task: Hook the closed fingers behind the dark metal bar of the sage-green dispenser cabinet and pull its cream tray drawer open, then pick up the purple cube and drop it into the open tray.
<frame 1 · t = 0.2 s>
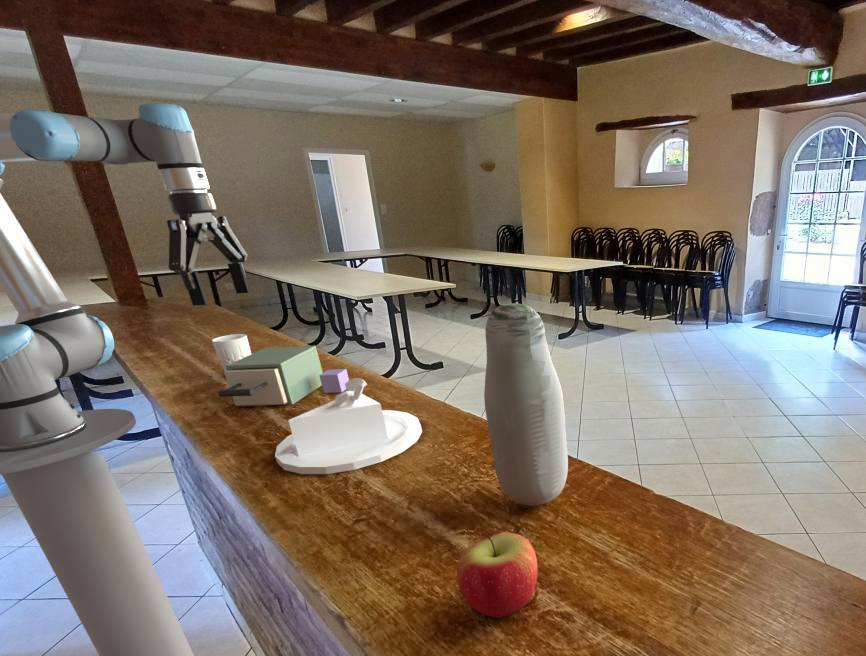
hand: (223, 298, 119), 23 cm above the bar counter, tool pointing down, fingers open, 13 cm apart
grey rounded column: (535, 499, 80), on the bar counter
cabinet: (284, 394, 130), on the bar counter
apple: (503, 606, 60), on the bar counter
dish: (352, 443, 102), on the bar counter
white cup: (241, 374, 148), on the bar counter
drawer: (264, 382, 124), point 5 cm above the bar counter, slide at 0.5 cm
purple cube: (337, 389, 131), on the bar counter
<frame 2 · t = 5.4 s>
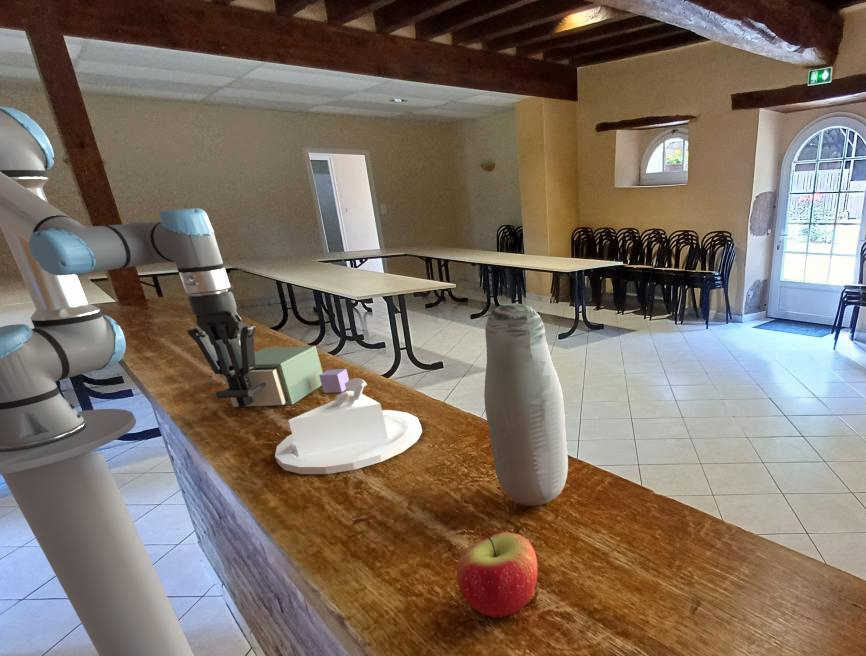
hand: (246, 404, 117), 3 cm above the bar counter, tool pointing down, fingers closed
drawer: (262, 383, 123), point 5 cm above the bar counter, slide at 1.2 cm
everything else where it was.
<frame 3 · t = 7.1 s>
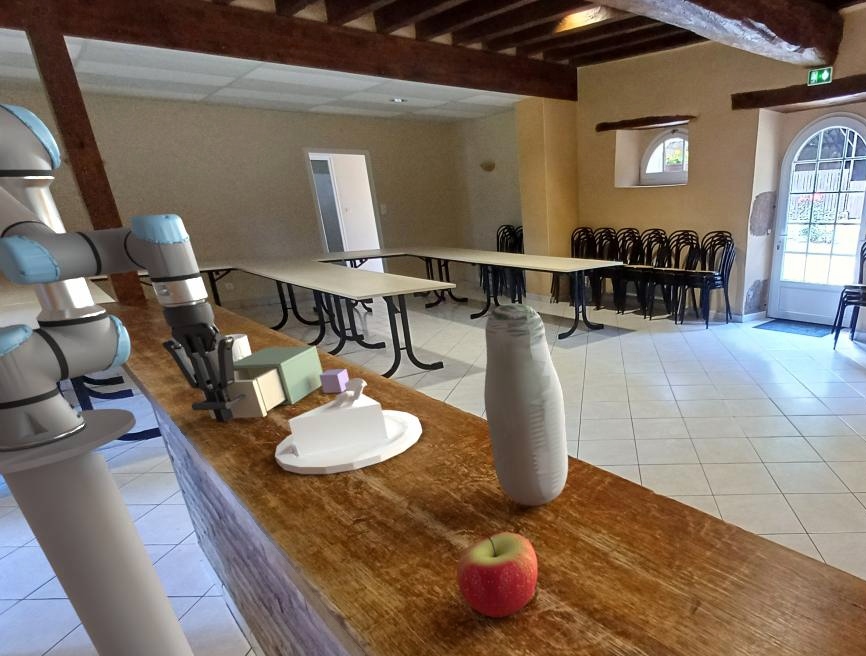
hand: (225, 419, 111), 2 cm above the bar counter, tool pointing down, fingers closed
drawer: (243, 394, 117), point 5 cm above the bar counter, slide at 8.0 cm, touching gripper
everything else where it was.
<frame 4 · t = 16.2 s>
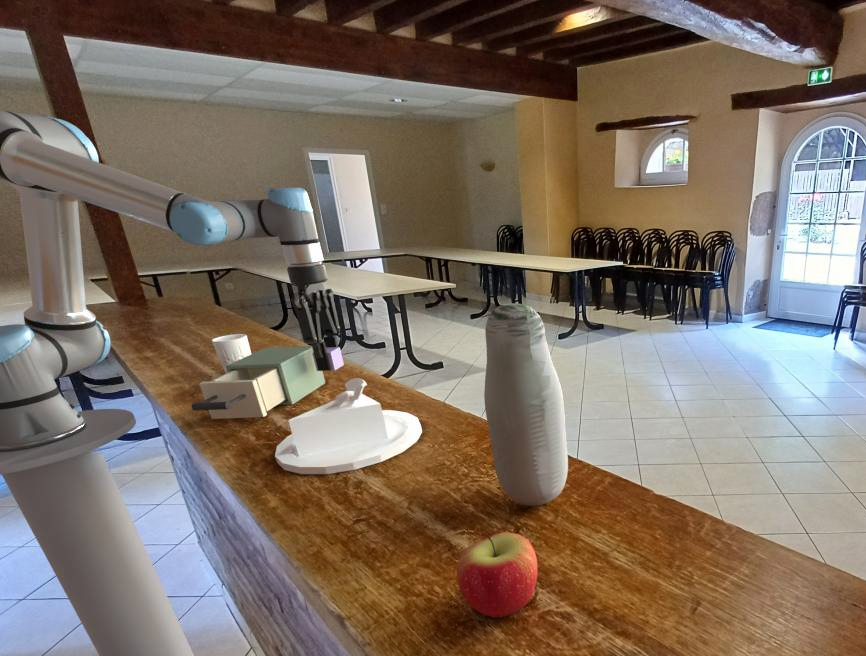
hand: (330, 366, 129), 6 cm above the bar counter, tool pointing down, fingers closed on purple cube, 4 cm apart
drawer: (242, 394, 117), point 5 cm above the bar counter, slide at 8.0 cm
purple cube: (330, 368, 129), point 5 cm above the bar counter, touching gripper
everything else where it was.
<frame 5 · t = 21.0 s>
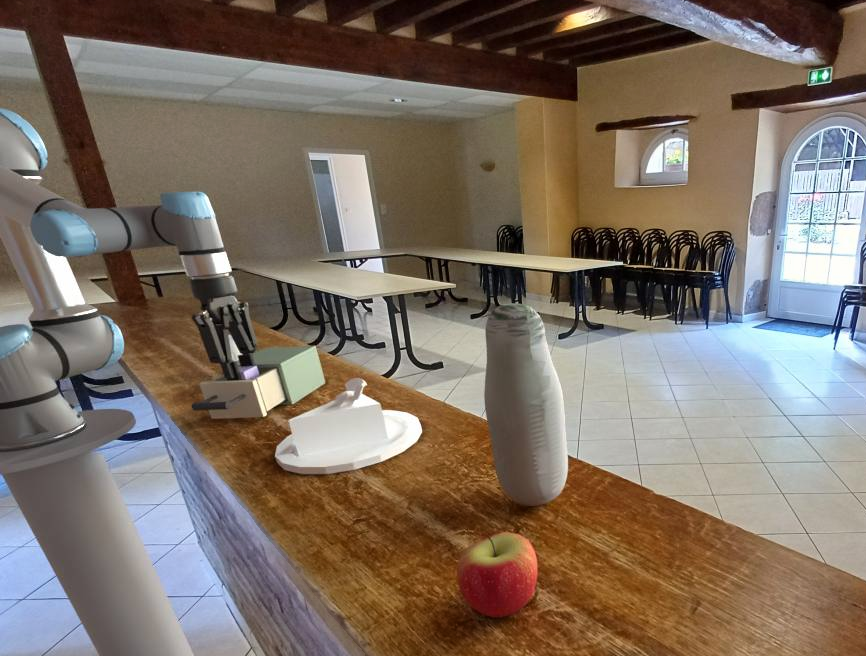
hand: (246, 387, 118), 6 cm above the bar counter, tool pointing down, fingers closed on purple cube, 4 cm apart
purple cube: (246, 388, 118), point 5 cm above the bar counter, touching gripper
everything else where it was.
when the fingers open (6 cm above the bar counter, at t = 21.0 s): purple cube drops 3 cm, resting on drawer.
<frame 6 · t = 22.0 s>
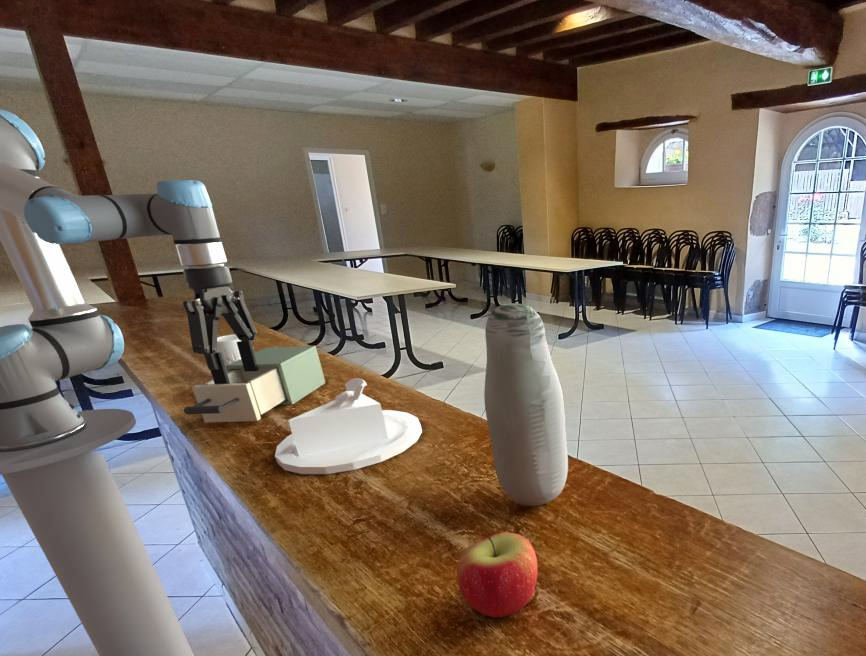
hand: (237, 377, 116), 8 cm above the bar counter, tool pointing down, fingers open, 8 cm apart
drawer: (236, 397, 115), point 5 cm above the bar counter, slide at 10.0 cm, touching purple cube
purple cube: (245, 407, 117), point 2 cm above the bar counter, touching drawer
everything else where it was.
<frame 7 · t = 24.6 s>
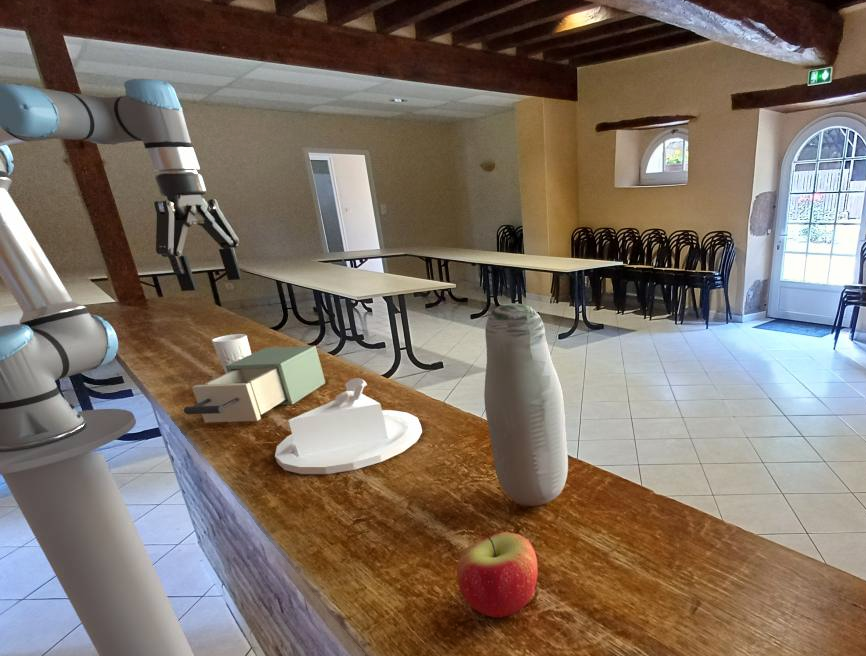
hand: (213, 284, 115), 27 cm above the bar counter, tool pointing down, fingers open, 13 cm apart
nothing on the bar counter moved.
at the end: drawer slide at 10.0 cm; purple cube inside the target area in the drawer (1.9 cm from its centre), point 2.0 cm above the cabinet's base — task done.
